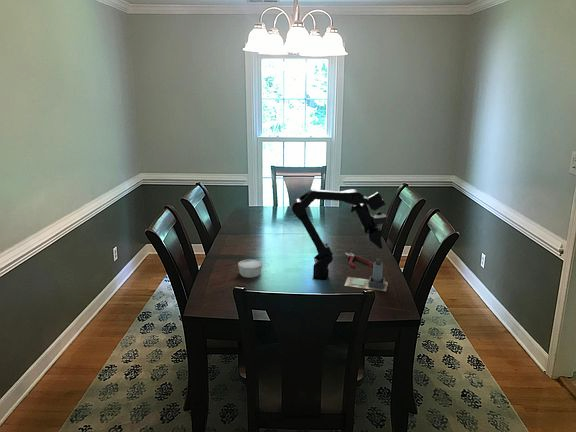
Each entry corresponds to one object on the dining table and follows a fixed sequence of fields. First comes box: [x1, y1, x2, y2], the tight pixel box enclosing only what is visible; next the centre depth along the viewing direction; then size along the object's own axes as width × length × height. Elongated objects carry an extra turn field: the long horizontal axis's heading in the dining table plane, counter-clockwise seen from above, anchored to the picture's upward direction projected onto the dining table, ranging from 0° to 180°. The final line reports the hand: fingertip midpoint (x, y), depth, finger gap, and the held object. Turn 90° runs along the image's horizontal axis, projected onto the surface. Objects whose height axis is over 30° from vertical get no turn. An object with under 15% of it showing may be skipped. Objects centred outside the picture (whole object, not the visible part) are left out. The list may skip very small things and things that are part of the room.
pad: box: [351, 279, 365, 286], centre depth 204 cm, size 6×6×1 cm
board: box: [344, 276, 389, 292], centre depth 203 cm, size 18×10×1 cm, turn 74°
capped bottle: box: [372, 258, 384, 283], centre depth 200 cm, size 4×4×12 cm
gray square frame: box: [368, 275, 386, 289], centre depth 201 cm, size 7×7×2 cm
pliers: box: [344, 252, 374, 269], centre depth 231 cm, size 12×20×3 cm, turn 16°
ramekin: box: [237, 259, 263, 279], centre depth 212 cm, size 11×11×5 cm
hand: (379, 245), depth 206 cm, fingers open, 9 cm apart
